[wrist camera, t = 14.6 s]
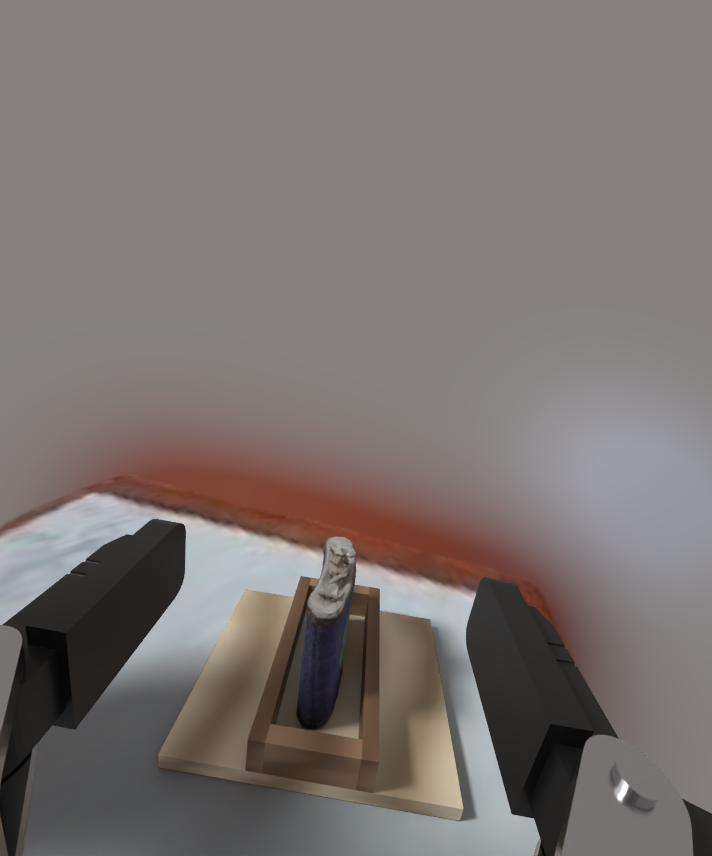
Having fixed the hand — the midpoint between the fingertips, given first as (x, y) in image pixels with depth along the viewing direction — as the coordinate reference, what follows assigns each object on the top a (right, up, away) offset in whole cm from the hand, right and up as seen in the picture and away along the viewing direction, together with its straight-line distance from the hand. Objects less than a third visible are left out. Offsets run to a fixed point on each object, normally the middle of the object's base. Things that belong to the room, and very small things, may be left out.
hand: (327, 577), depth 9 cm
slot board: (-2, -16, +18) cm, 24 cm away
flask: (-2, -15, +18) cm, 23 cm away
